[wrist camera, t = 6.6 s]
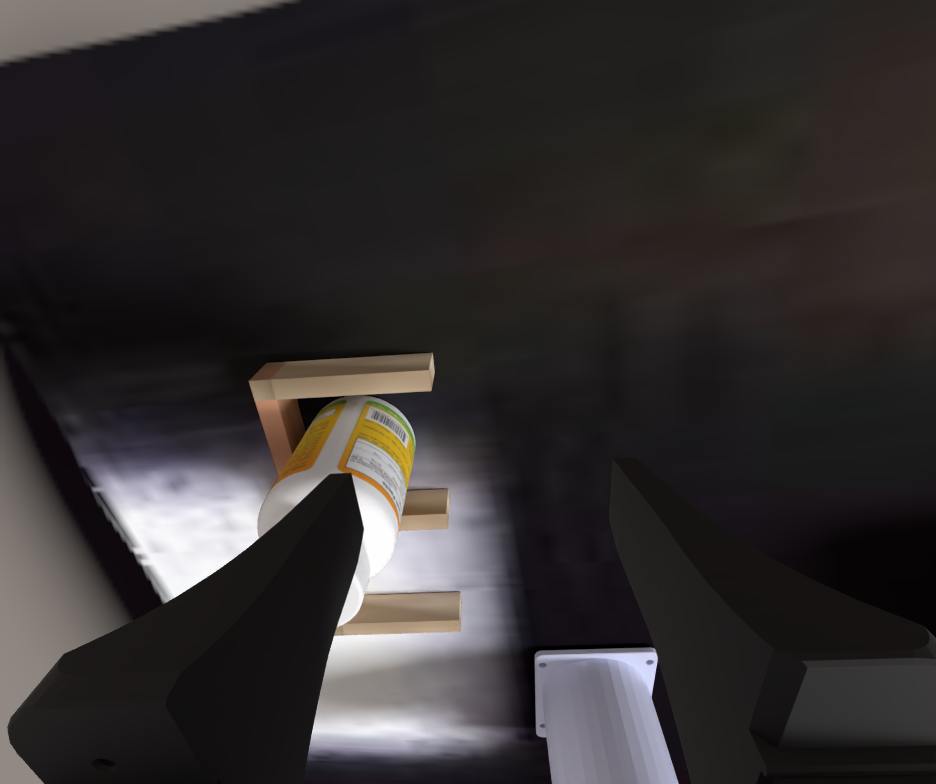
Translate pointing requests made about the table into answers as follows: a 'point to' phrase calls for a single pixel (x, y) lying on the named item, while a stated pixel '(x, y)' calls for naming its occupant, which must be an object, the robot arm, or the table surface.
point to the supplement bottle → (373, 471)
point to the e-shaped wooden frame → (422, 508)
